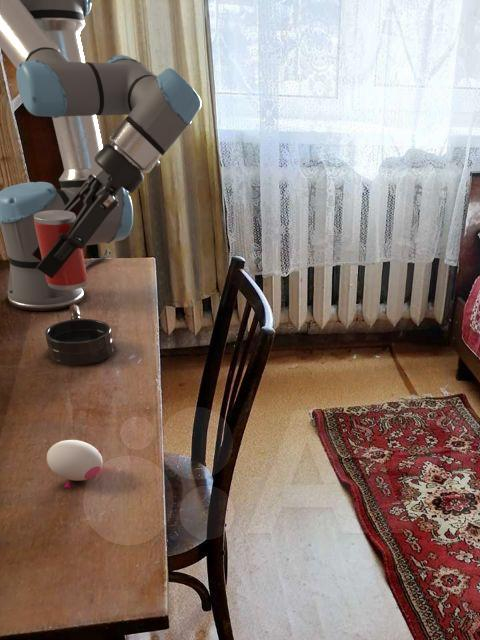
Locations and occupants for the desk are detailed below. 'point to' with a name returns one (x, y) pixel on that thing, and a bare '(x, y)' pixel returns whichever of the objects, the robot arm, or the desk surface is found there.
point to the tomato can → (48, 235)
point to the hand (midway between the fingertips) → (41, 265)
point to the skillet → (79, 342)
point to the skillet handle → (74, 312)
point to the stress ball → (74, 460)
